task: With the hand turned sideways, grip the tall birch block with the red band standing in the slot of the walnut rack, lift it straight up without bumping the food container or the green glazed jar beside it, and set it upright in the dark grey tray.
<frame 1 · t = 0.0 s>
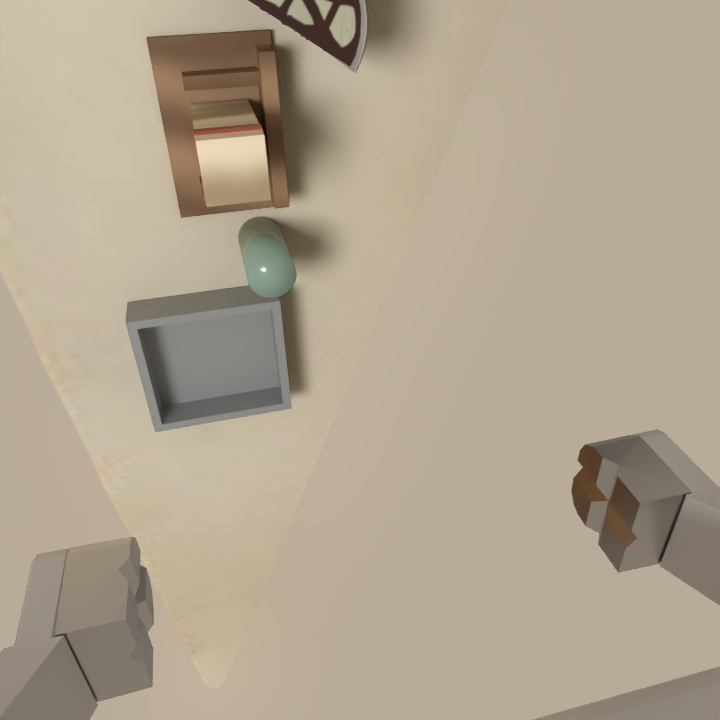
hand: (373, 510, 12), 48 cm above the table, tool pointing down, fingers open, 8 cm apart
walnut rack: (222, 127, 53), on the table
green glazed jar: (260, 237, 59), on the table
grey tray: (212, 347, 64), on the table
birch block: (223, 129, 53), point 1 cm above the table, touching walnut rack
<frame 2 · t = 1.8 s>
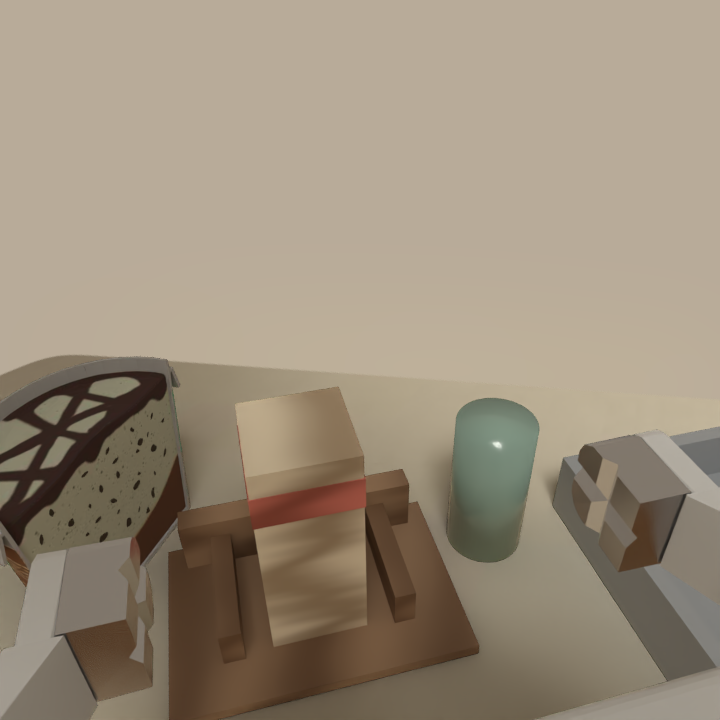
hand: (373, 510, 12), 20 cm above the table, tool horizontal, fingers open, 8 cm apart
food container: (96, 557, 35), on the table
walnut rack: (313, 602, 33), on the table
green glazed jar: (482, 532, 36), on the table
birch block: (312, 595, 32), point 1 cm above the table, touching walnut rack
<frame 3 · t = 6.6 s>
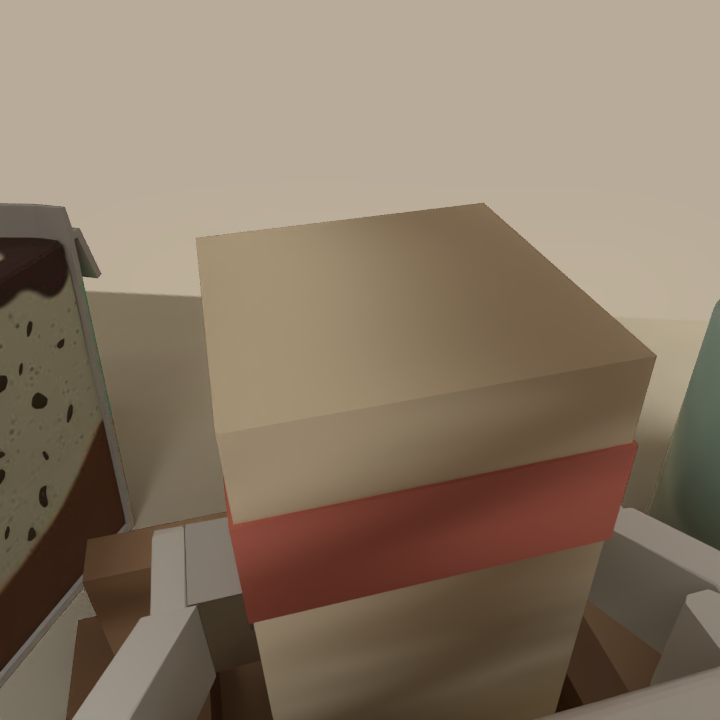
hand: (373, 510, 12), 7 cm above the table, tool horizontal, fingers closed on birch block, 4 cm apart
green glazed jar: (710, 572, 18), on the table
when the fingers open (8 cm above the table, at t = 12.8 s): birch block drops 1 cm, resting on grey tray.
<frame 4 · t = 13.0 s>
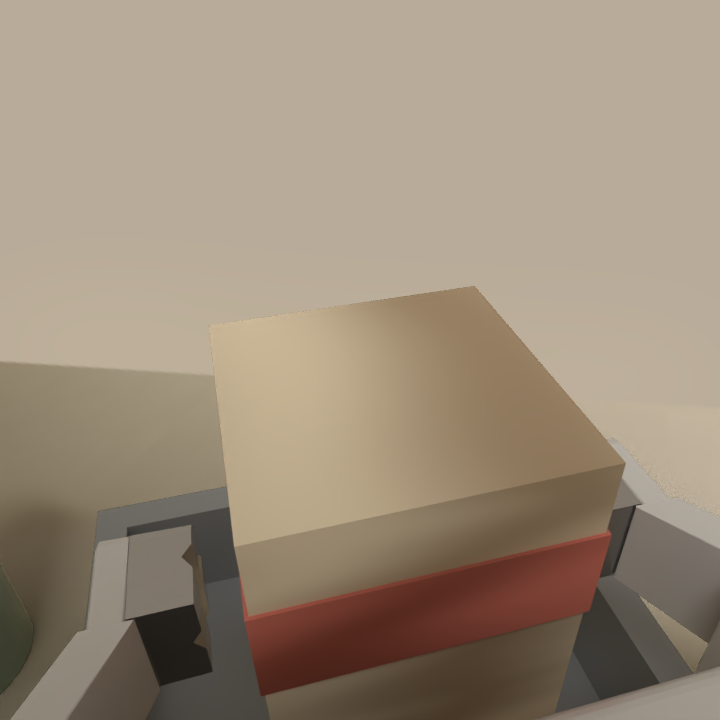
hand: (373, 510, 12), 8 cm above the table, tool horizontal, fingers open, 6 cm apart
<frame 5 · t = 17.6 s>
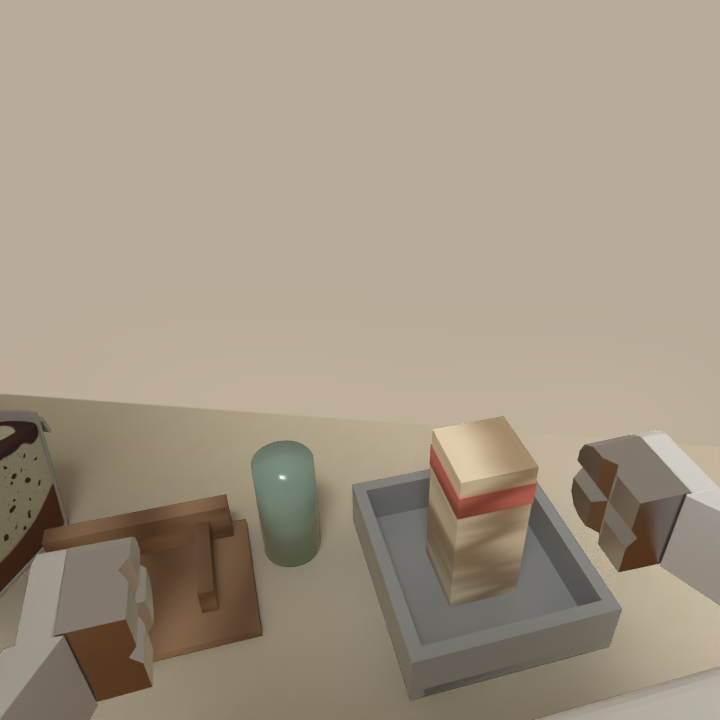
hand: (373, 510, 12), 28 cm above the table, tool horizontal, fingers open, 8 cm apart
walnut rack: (147, 598, 42), on the table
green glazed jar: (292, 543, 46), on the table
grey tray: (468, 577, 43), on the table
birch block: (469, 570, 43), point 1 cm above the table, touching grey tray
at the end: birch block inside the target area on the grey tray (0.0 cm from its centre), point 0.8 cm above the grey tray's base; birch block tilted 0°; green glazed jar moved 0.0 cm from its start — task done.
